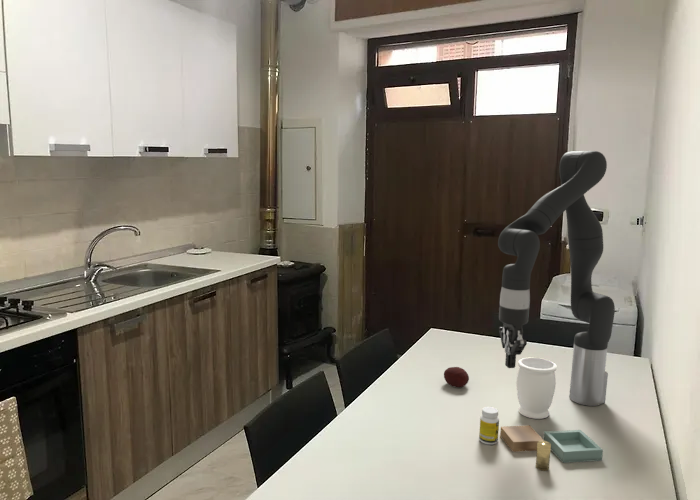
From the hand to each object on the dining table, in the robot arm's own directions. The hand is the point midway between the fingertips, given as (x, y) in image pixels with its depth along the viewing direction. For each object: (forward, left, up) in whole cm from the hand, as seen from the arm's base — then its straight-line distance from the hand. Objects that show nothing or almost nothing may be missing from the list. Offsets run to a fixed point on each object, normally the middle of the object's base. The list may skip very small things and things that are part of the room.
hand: (510, 366), depth 148 cm
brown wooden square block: (0, +9, -17) cm, 20 cm away
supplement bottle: (+8, +7, -17) cm, 20 cm away
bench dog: (0, +21, -17) cm, 27 cm away
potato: (+5, -28, -17) cm, 33 cm away
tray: (-11, +14, -17) cm, 25 cm away
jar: (-11, -7, -17) cm, 21 cm away
